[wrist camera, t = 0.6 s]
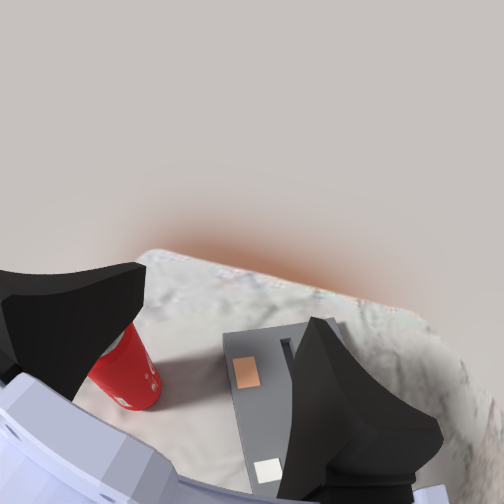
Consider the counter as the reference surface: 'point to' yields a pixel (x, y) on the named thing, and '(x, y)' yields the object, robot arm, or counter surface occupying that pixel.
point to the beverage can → (127, 372)
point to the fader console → (264, 397)
